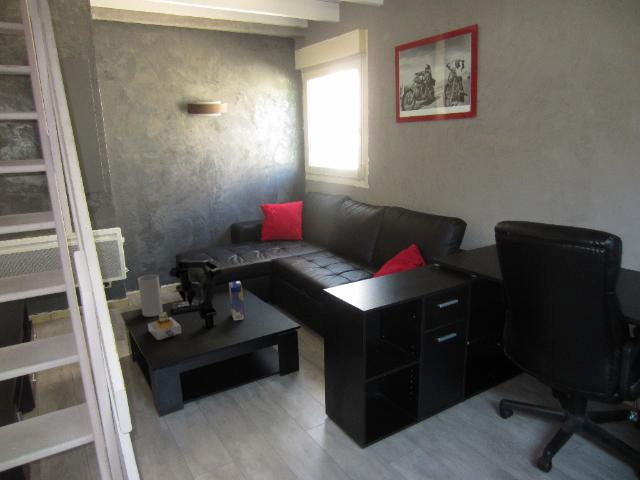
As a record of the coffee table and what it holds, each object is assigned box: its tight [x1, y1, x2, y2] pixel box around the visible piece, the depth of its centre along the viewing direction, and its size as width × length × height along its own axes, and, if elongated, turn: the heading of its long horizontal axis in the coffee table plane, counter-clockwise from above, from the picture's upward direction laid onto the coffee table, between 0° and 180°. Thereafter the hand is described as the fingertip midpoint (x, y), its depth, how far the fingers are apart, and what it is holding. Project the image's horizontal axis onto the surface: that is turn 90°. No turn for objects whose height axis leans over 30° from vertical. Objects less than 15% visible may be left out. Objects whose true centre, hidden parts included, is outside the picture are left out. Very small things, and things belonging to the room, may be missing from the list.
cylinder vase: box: [137, 274, 164, 318], centre depth 294 cm, size 12×12×25 cm
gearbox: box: [147, 316, 182, 341], centre depth 266 cm, size 19×14×7 cm
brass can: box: [158, 311, 169, 324], centre depth 266 cm, size 5×5×7 cm
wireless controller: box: [172, 281, 204, 315], centre depth 301 cm, size 20×14×17 cm
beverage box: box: [228, 280, 245, 321], centre depth 285 cm, size 7×11×22 cm, turn 18°
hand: (187, 303), depth 280 cm, fingers open, 9 cm apart
